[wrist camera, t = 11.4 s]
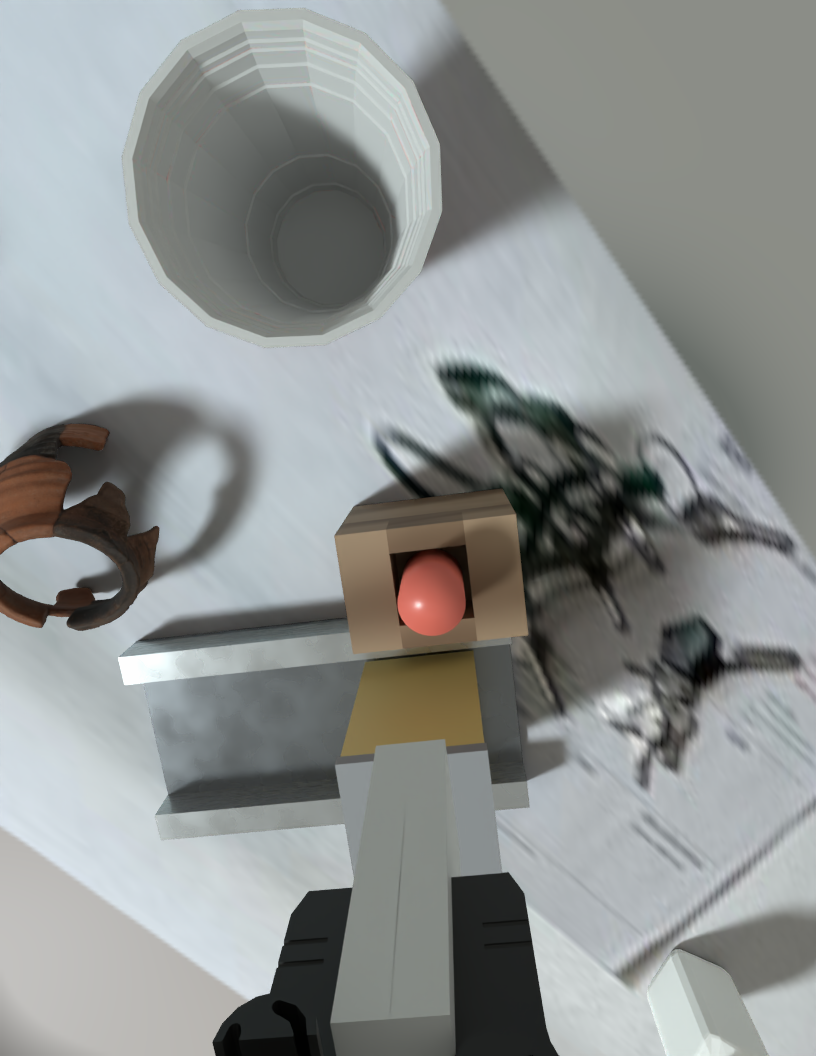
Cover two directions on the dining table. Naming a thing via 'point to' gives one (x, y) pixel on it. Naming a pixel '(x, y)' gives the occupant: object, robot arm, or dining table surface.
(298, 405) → the dining table surface
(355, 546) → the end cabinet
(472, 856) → the carriage
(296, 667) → the track
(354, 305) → the plastic cup
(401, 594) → the ball
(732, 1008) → the white pill bottle
